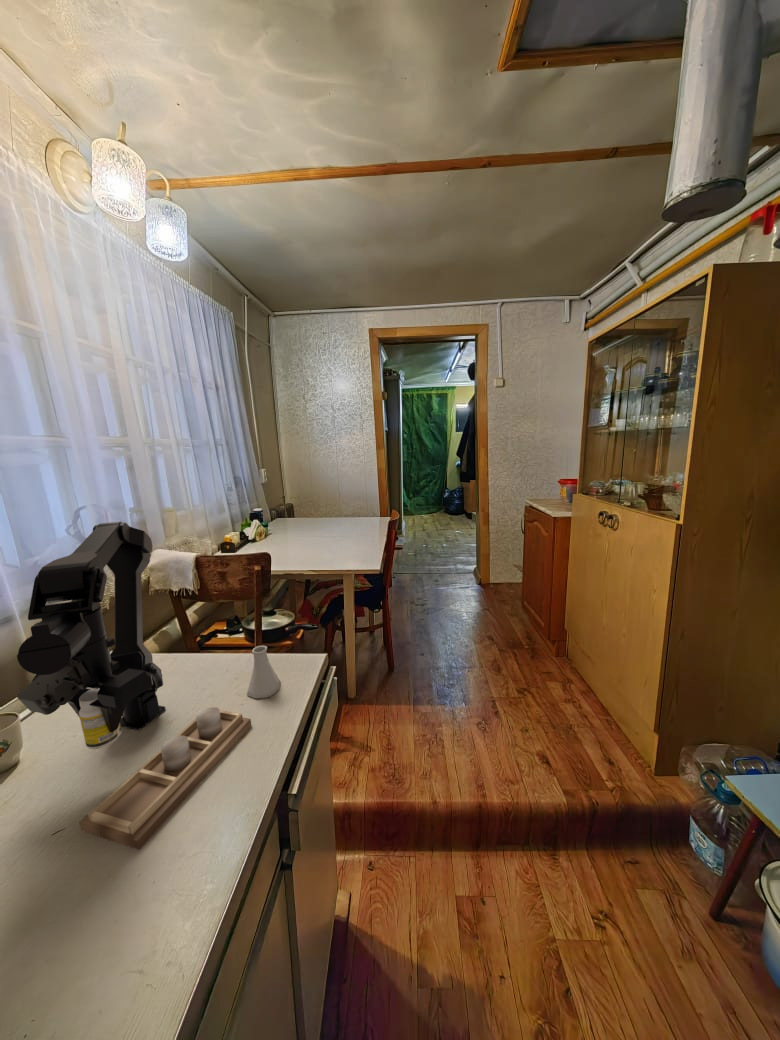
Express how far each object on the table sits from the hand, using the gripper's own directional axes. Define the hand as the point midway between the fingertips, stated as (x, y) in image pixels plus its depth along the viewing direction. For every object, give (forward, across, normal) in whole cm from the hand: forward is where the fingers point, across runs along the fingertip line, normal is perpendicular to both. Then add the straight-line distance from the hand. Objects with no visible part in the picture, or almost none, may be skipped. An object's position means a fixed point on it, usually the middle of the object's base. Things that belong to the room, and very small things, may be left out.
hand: (102, 728), depth 62 cm
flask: (+10, +11, +27) cm, 31 cm away
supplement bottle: (+2, 0, 0) cm, 2 cm away
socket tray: (+10, +10, +4) cm, 14 cm away
